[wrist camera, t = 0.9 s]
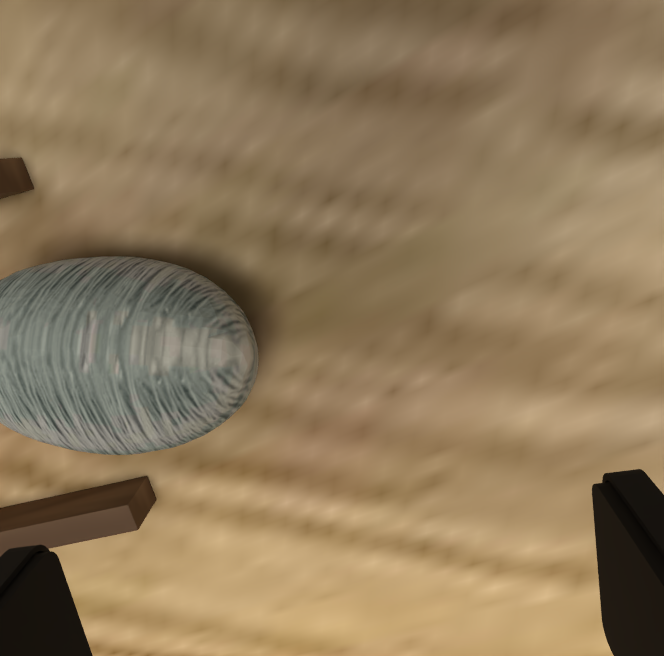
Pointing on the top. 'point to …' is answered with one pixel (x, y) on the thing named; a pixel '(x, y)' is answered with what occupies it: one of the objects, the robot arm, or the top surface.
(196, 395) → the grey rounded piece
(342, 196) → the top surface
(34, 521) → the guide channel
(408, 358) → the top surface
